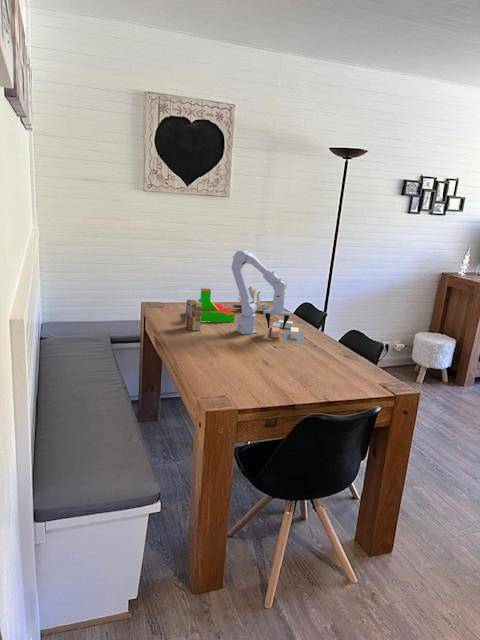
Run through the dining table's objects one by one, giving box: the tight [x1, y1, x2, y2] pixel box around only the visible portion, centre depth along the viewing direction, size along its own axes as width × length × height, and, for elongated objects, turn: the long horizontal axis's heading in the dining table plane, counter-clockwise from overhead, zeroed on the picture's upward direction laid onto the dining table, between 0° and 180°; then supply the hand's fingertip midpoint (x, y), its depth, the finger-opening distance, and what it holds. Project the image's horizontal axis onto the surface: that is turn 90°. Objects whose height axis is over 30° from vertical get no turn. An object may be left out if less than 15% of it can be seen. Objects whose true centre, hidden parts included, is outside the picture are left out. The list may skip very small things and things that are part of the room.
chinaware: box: [236, 285, 273, 312], centre depth 303 cm, size 28×17×17 cm, turn 58°
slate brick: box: [271, 321, 281, 331], centre depth 262 cm, size 8×4×4 cm, turn 174°
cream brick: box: [290, 326, 300, 339], centre depth 252 cm, size 8×4×4 cm, turn 174°
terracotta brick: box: [270, 327, 281, 339], centre depth 252 cm, size 8×4×4 cm, turn 174°
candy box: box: [184, 298, 202, 332], centre depth 252 cm, size 9×4×15 cm, turn 39°
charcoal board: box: [282, 329, 306, 345], centre depth 253 cm, size 22×11×1 cm, turn 174°
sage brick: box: [277, 319, 294, 330], centre depth 269 cm, size 8×4×4 cm, turn 84°
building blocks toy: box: [197, 287, 236, 324], centre depth 275 cm, size 19×25×18 cm
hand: (275, 328), depth 252 cm, fingers open, 7 cm apart
